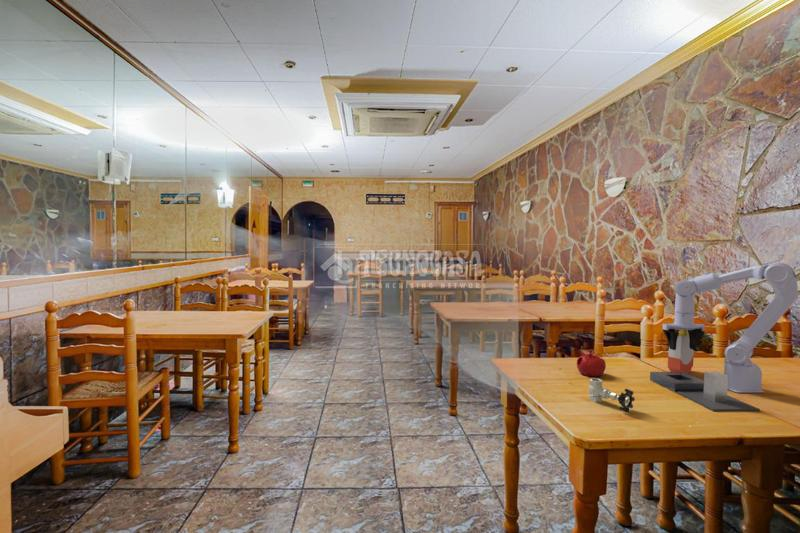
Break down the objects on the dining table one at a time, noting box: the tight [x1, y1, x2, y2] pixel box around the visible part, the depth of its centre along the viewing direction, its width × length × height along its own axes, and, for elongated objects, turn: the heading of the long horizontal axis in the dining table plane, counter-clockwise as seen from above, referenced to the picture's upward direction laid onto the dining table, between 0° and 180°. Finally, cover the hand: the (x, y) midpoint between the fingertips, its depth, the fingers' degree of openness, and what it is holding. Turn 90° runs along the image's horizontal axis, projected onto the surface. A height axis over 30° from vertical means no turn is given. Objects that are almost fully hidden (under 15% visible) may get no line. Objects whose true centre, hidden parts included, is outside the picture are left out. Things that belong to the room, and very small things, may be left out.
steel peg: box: [703, 371, 728, 402], centre depth 121 cm, size 4×4×8 cm
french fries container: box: [667, 330, 695, 374], centre depth 149 cm, size 5×11×18 cm, turn 122°
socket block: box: [649, 371, 704, 393], centre depth 134 cm, size 12×12×3 cm
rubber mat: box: [676, 392, 760, 412], centre depth 120 cm, size 14×14×1 cm
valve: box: [587, 377, 636, 413], centre depth 117 cm, size 7×7×12 cm
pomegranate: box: [576, 349, 607, 378], centre depth 146 cm, size 10×10×9 cm
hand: (682, 349), depth 143 cm, fingers open, 7 cm apart
